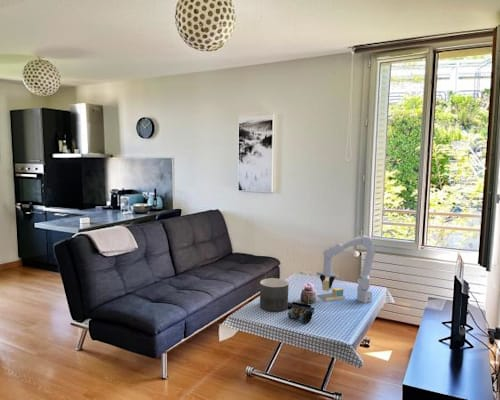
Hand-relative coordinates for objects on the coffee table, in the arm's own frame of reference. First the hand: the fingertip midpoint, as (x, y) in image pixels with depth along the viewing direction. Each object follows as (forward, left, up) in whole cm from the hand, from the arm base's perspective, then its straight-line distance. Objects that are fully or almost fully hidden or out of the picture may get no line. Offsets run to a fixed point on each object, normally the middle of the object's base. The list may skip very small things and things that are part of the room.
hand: (327, 287), depth 255 cm
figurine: (-21, +34, -9) cm, 41 cm away
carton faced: (-1, -8, -8) cm, 11 cm away
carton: (0, 0, -2) cm, 2 cm away
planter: (+3, +38, -9) cm, 39 cm away
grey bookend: (+2, -4, -9) cm, 10 cm away
